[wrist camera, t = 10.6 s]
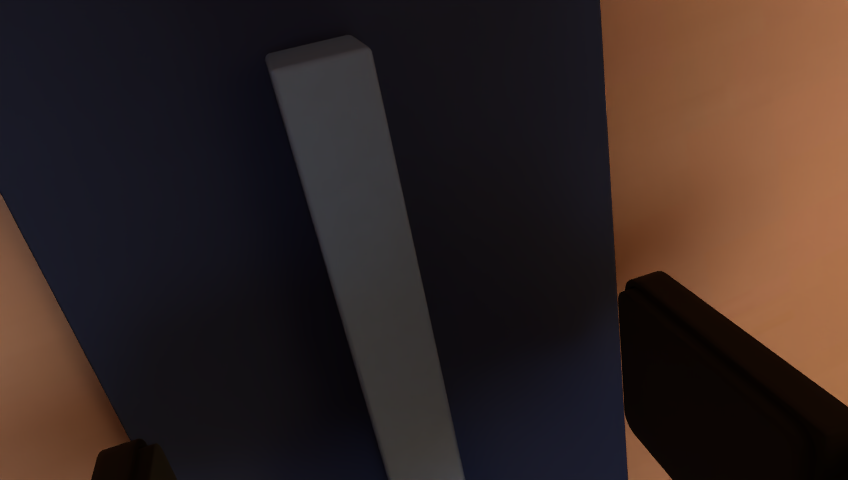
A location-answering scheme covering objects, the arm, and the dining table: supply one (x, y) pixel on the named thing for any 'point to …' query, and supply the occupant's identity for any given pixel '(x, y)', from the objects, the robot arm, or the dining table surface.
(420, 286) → the grey spoon
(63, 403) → the dining table surface
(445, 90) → the navy mat
